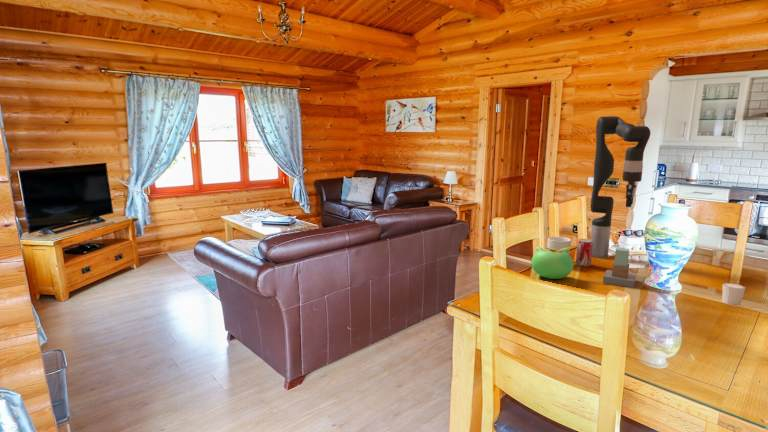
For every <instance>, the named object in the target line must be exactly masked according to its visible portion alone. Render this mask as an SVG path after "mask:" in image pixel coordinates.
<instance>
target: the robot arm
mask: <svg viewBox="0 0 768 432" xmlns="http://www.w3.org/2000/svg"><path fill="white" fill-rule="evenodd" d="M596 121H597V122H596V126H595V127H596V128H595V129H596V130H595V138H596V139H595V143H596V144H595V157H594V165H593V185H592V190H591V191H592V193H591V198H590V211H591V212H592V213H596V214H604V215H603V216H601V217H597V218H593V219H592V222H591V232H590V240H591V241H592V244H593V248H592V258H593V257H594V258H598V259H599V258H608V257H609V249H610V237H611V229H612V228H611V227H612V216H613V210H614V209H613V208H614V201H615V200H614V198H613V196H609V195H607V196H604V195H599V193H600V191H601V189H602V187H603V186H604V185H605V183H607V181H608V180H609V179H610V177H611V176H612V175H613V173H614V170H615V169H614V168H615V159H614V156H613V154H612V153H611V151H610V149H609V147H608V145H607V144H606V136H605V135H617V136H618V137H619V138H622V139H623V141H624V142H627V143H637V144H636V145H635V146H632V147H628V148H626V149H625V155H624V156H625V157H624V163H623V169H622V170H623V171H622V178H621V179H622V181H623V182H627V184H626V185H625V200H626V201H625V207H626V208H631V207H632V205H633V204H634V197H635V194H636V190H637V185H636V184H637V183H636V182H638V183H640V182H642V180H643V179H642V178H643V167H644V152H645V149H646V147H647V144H648V142H649V139H650V137H651V129H650V128H649V127H648V126H645V125H635V124H632V123H629V122H626V121H625V120H623V119H622V118H621V117H620V116H616V115H614V116H613V115H610V116H600V117H598V119H597V120H596Z"/></svg>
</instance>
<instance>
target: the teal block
mask: <svg viewBox="0 0 768 432" xmlns="http://www.w3.org/2000/svg"><path fill="white" fill-rule="evenodd" d="M614 252H615V254H614V262H613V264H614V265H618V266H625V267H627V265H628V264H629V256H630V248H623V247H616V248H615V251H614Z"/></svg>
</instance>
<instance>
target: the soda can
mask: <svg viewBox="0 0 768 432" xmlns="http://www.w3.org/2000/svg"><path fill="white" fill-rule="evenodd" d="M576 245H577V246H576V255H575V257H576V258H575V264H576V265H577V266H580V267H583V268H584V267H586V268H587V267H590V266H591V265H592V258H593V256H592V248H593V244H592V241H591V239H587V238H586V239H585V238H579V239H578V242H577V244H576Z"/></svg>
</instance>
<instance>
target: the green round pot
mask: <svg viewBox="0 0 768 432" xmlns="http://www.w3.org/2000/svg"><path fill="white" fill-rule="evenodd" d="M571 249H573V247H572V246H570V247H567V248H563V249H553V248H547V247H546V248H542V247H540V246H536V252H535V253H534V254H533V256H532V258H531V262H530V263H531V267H532V270H533V271H534V272H535V273H536V274H537V275H538V276H541V277H543V278H546V279H552V280H558V279H559V280H560V279H565V278H566V277H568V276H569V275H570V274H571V273H572V271H573V269H574V261H573V258H572V256H571V255H570V254H567V252H568V251H569V250H570V251H571Z"/></svg>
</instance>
